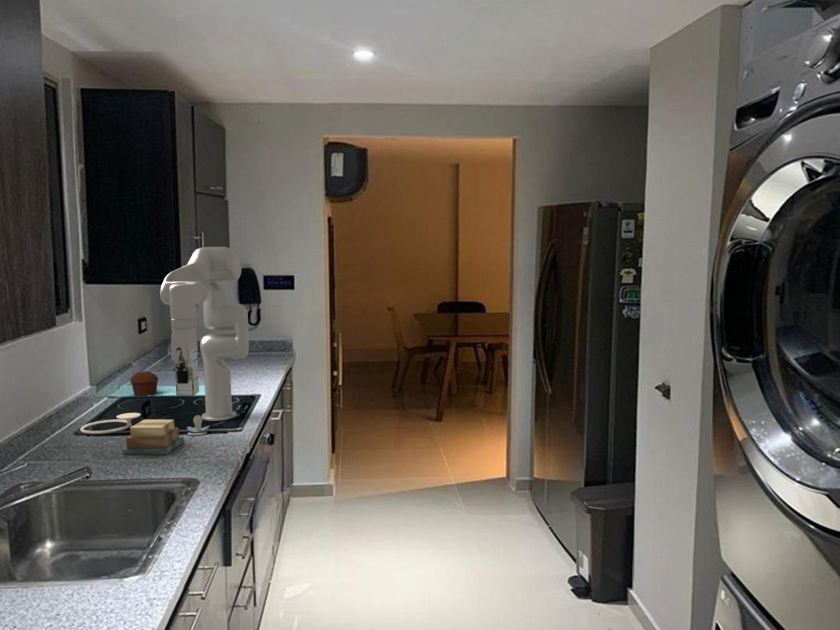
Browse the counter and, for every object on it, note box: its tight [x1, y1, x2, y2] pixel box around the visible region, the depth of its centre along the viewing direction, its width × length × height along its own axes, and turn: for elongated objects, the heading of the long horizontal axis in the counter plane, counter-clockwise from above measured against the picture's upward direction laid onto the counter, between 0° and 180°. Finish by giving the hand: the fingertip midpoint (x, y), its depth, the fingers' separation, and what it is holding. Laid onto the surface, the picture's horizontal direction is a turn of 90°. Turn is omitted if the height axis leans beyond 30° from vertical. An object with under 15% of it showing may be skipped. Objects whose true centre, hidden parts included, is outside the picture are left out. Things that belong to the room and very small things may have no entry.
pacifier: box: [186, 415, 210, 436], centre depth 244 cm, size 7×6×6 cm
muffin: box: [129, 371, 159, 397], centre depth 306 cm, size 12×11×10 cm
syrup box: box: [174, 347, 200, 397], centre depth 220 cm, size 6×6×14 cm
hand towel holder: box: [79, 412, 141, 435], centre depth 254 cm, size 17×4×21 cm
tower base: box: [121, 419, 185, 455], centre depth 228 cm, size 14×14×8 cm
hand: (187, 380), depth 220 cm, fingers closed on syrup box, 6 cm apart
